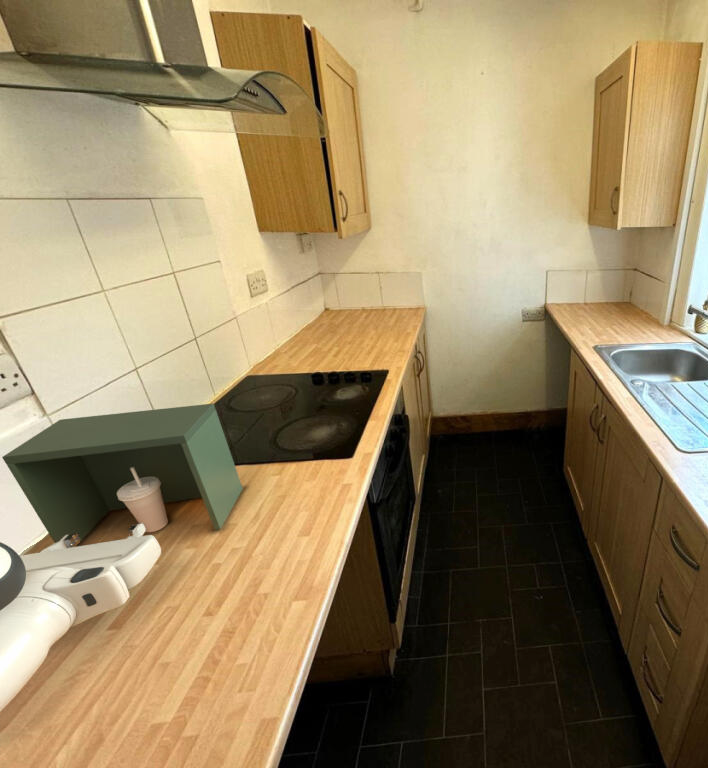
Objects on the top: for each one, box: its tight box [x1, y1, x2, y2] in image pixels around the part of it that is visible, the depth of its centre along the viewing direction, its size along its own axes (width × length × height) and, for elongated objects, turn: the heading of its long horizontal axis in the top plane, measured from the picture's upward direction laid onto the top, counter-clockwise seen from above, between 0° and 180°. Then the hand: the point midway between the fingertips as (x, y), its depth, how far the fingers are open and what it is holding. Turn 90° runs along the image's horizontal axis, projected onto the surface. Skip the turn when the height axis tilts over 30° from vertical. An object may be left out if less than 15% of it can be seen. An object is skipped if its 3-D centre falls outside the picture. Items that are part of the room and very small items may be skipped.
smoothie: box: [117, 467, 169, 533], centre depth 80 cm, size 6×6×14 cm
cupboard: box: [1, 403, 244, 546], centre depth 80 cm, size 26×13×22 cm, turn 104°
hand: (107, 531), depth 70 cm, fingers open, 8 cm apart
